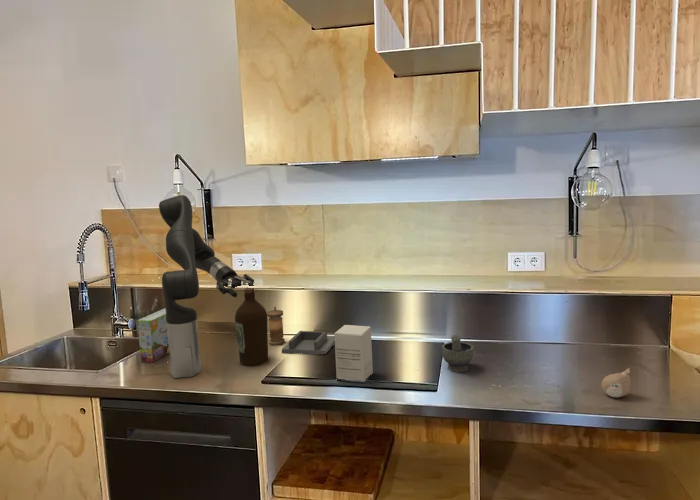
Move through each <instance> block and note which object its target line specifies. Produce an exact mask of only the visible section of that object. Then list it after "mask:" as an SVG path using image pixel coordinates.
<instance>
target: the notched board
mask: <svg viewBox="0 0 700 500" xmlns="http://www.w3.org/2000/svg"><path fill="white" fill-rule="evenodd" d="M332 346H333V347H334V346H335V337H328V331H318V330H317V331H316V330H315V331H314V330H299V331H298V332H297V333H296V334H295V335H294V336H292V338H291V339H289V340H288V343H287V344H286V345H284V346H283V347H282V348H281V354H287V355H288V354H290V355H291V354H293V353H294V354H293V355H296V354H295V353H300V354H299V355H313V354H326V353H327V352H328V351H329V352H330V350H331V349H332V348H331V347H332ZM330 348H331V349H330ZM301 353H302V354H301ZM327 354H328V353H327ZM327 354H326V355H327Z"/></svg>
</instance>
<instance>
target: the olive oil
mask: <svg viewBox="0 0 700 500" xmlns="http://www.w3.org/2000/svg"><path fill="white" fill-rule="evenodd" d="M255 292H256V291H255ZM255 292H254V288H248V287H244V301H243V302H242V303H241V305H240V306H238V308H237V309H236V311H235V315H234V323H235V324H234V325H235V329H236V330H235V331H236V339H237V346H238V347H237V348H238V352H239V353H238V356H239V363H240V364H241V365H242V366H246V367H247V366H249V367H253V366H254V367H255V366H259V365H263V364H265V363H267V362H268V361H269V344H268V343H269V341H268V316H267V310H266V308H265V307H264V306H263V305H262V304H261V303H260V302H258V300H257V299H256V294H255Z"/></svg>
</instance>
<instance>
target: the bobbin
mask: <svg viewBox="0 0 700 500" xmlns="http://www.w3.org/2000/svg"><path fill="white" fill-rule="evenodd" d="M266 313H267V318H268V329H269V330H268V331H269V341H268V343H269V344H268V345H269V346H274V347H277V346H282V345H285V343H286V341H285V340H286V339H285V337H284V324H283V317H282V316H284V311H283V310H281V309H277V306H273V310H269V311H266Z"/></svg>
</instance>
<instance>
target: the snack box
mask: <svg viewBox="0 0 700 500" xmlns="http://www.w3.org/2000/svg"><path fill="white" fill-rule="evenodd" d="M137 328H138V330H137V331H138V342H139V355H140V362H142V363H143V362H144V363H154V362H156V361H157V360H159V359H161V358H163V357H164V356H166V355H168V354H169V344H168V333H167V322H166V309H165V307H164V308H162V309H160V310H158V311H155V312H154V313H151V314H148V315H146V316H144V317H141V318H140V319H137Z"/></svg>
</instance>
